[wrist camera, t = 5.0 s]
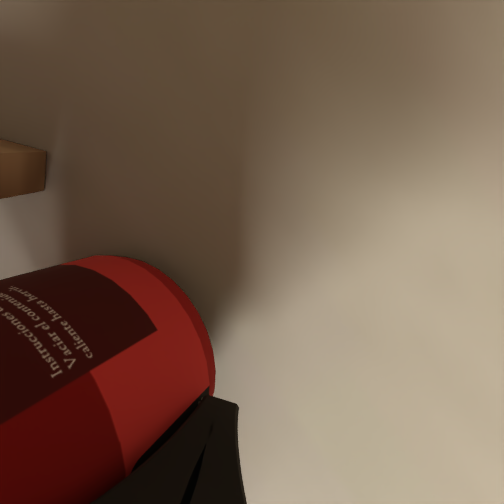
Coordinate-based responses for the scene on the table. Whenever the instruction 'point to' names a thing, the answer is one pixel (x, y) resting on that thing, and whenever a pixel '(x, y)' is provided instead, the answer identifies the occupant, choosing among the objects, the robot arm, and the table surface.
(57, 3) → the table surface
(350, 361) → the table surface
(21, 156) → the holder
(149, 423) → the canned food
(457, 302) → the table surface
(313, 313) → the table surface
